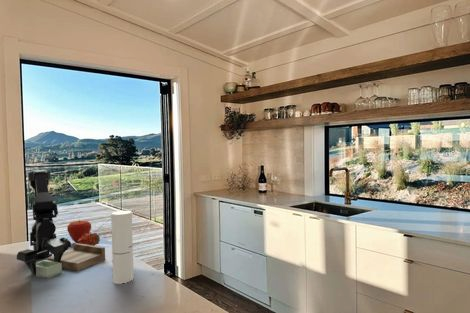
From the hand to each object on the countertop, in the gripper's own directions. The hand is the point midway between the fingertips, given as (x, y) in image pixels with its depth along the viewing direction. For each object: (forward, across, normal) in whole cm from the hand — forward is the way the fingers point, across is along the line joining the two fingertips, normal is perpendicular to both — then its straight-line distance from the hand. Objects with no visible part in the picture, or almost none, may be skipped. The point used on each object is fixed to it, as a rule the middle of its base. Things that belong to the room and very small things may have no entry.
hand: (46, 271), depth 125 cm
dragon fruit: (+1, +30, +12) cm, 32 cm away
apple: (+1, +36, +25) cm, 44 cm away
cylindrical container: (+1, +7, -33) cm, 34 cm away
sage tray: (+1, 0, 0) cm, 1 cm away
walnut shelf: (+1, +14, 0) cm, 14 cm away
